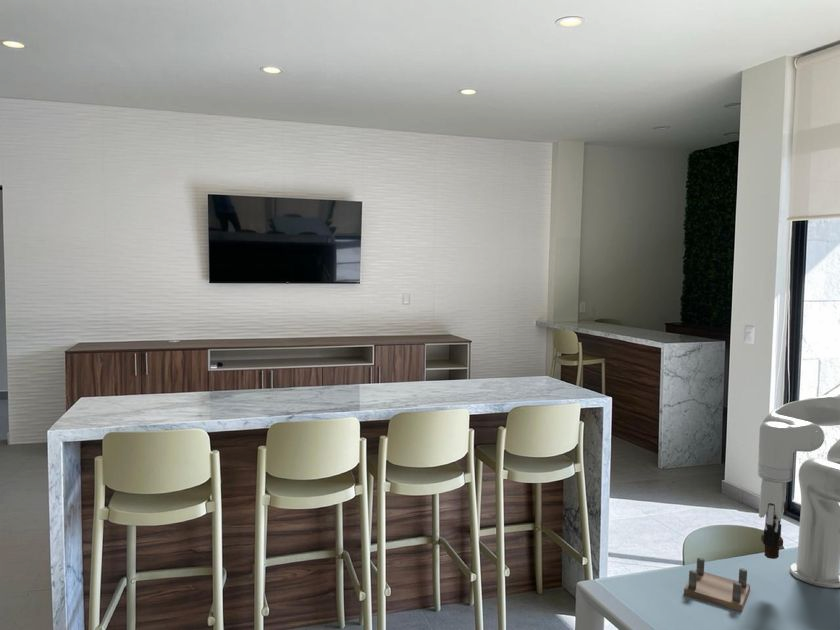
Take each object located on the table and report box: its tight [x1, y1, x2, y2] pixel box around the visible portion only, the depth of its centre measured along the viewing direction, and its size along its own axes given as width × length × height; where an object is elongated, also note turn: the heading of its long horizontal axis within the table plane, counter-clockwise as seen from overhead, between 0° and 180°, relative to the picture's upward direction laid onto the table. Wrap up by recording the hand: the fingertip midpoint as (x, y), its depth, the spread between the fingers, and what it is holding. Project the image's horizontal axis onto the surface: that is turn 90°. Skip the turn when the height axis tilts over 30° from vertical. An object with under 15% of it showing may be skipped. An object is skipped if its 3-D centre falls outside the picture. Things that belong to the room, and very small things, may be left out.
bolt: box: [760, 500, 788, 560], centre depth 161 cm, size 6×5×15 cm
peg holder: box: [683, 557, 751, 612], centre depth 159 cm, size 13×13×6 cm
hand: (772, 541), depth 161 cm, fingers closed on bolt, 4 cm apart
